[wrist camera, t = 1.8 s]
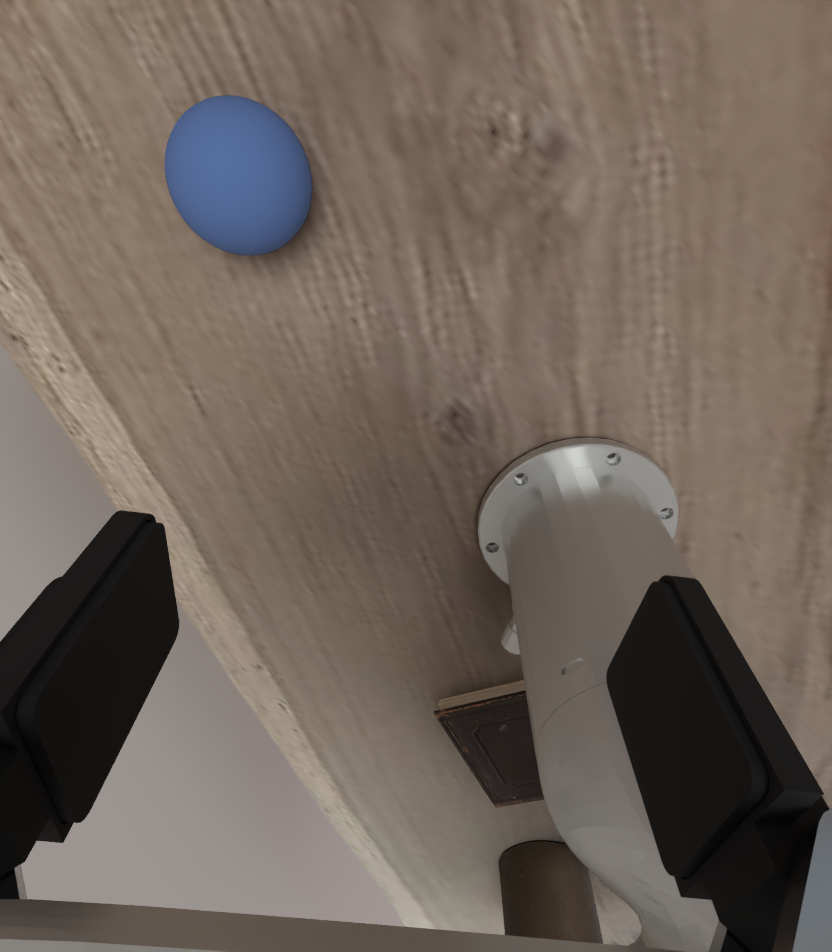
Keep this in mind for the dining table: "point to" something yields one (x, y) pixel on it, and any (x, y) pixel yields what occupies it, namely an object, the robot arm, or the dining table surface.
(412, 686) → the dining table surface
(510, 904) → the pillar candle
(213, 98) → the ball
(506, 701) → the hardcover book
